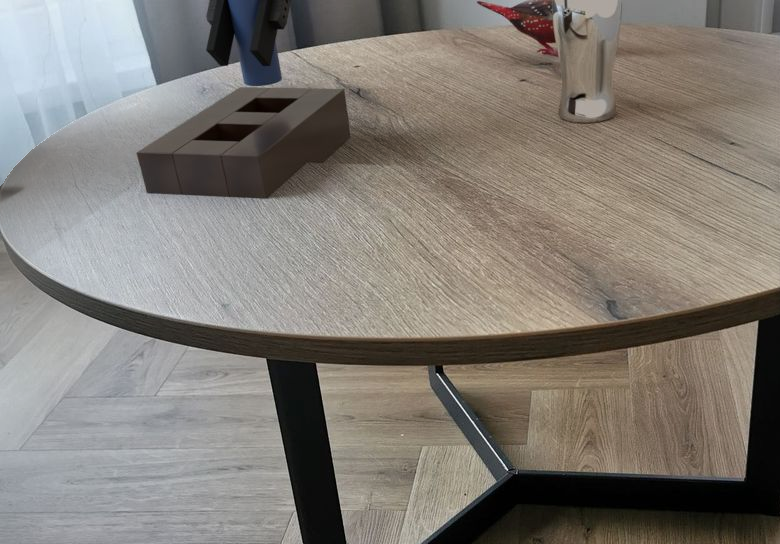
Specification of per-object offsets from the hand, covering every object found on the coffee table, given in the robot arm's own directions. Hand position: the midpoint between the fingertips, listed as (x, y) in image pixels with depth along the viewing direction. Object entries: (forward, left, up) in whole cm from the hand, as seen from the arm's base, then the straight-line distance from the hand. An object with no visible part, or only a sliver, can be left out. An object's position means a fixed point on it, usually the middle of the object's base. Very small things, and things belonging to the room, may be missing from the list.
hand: (238, 57), depth 87 cm
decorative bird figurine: (+19, +43, -11) cm, 48 cm away
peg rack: (0, 0, -10) cm, 10 cm away
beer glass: (+29, +19, -11) cm, 36 cm away
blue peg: (0, +4, -3) cm, 5 cm away
